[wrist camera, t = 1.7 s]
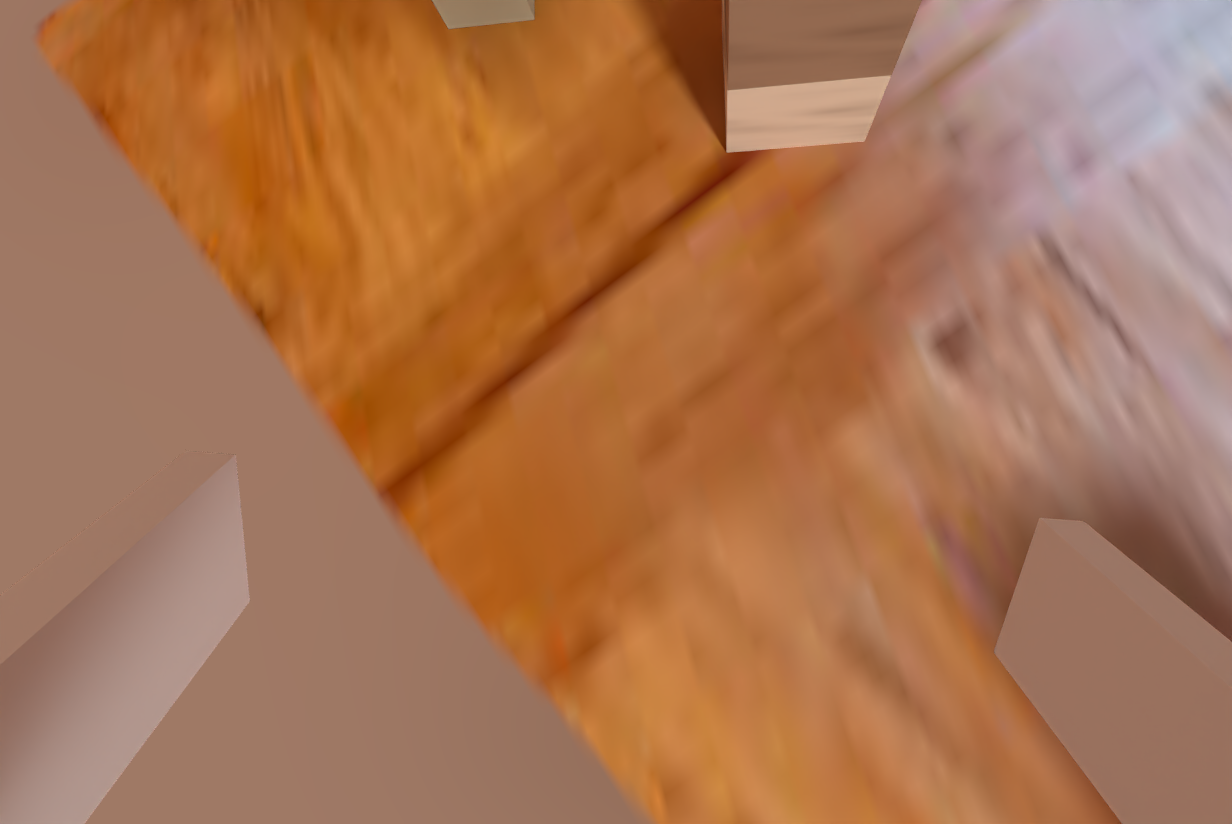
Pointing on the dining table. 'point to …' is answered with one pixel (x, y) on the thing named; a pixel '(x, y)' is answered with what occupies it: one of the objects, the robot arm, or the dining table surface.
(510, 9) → the pillar
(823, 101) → the tower base
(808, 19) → the tower top
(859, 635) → the dining table surface
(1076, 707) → the robot arm
